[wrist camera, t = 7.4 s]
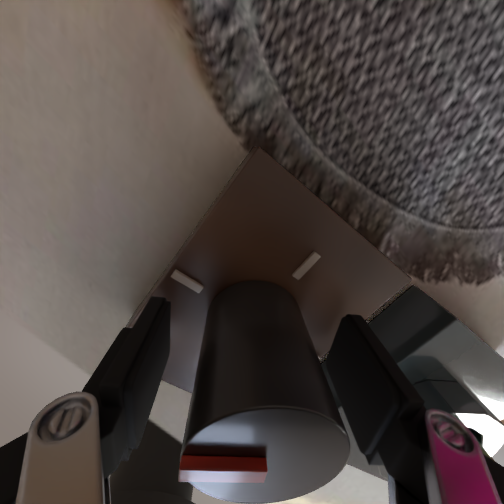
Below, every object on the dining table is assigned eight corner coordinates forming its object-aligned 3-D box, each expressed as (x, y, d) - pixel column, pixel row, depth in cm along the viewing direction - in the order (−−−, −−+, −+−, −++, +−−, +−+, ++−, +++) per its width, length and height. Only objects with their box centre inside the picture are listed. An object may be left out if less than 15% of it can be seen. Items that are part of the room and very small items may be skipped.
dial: (310, 285, 10) (384, 426, 5) (288, 358, 12) (327, 519, 7) (210, 274, 10) (180, 417, 5) (203, 351, 12) (173, 520, 6)
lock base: (248, 375, 17) (250, 422, 14) (131, 316, 14) (104, 359, 11) (377, 253, 13) (415, 281, 11) (253, 146, 11) (259, 145, 8)
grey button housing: (369, 436, 21) (407, 518, 16) (285, 393, 18) (301, 478, 13) (493, 353, 17) (585, 426, 13) (413, 284, 14) (494, 346, 10)
